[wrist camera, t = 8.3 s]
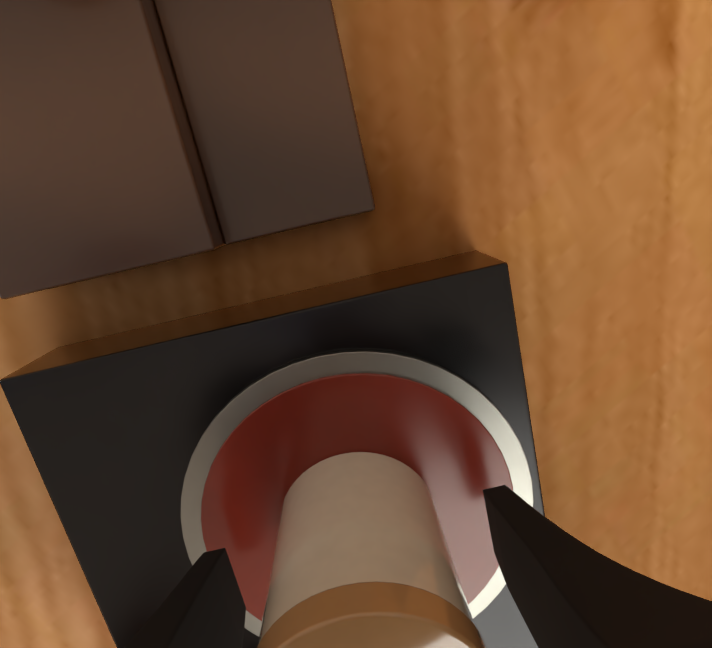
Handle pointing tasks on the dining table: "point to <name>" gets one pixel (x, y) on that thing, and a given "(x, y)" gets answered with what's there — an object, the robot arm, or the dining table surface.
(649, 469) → the dining table surface
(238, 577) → the burner
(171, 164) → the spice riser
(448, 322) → the hot plate
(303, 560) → the cream jar
